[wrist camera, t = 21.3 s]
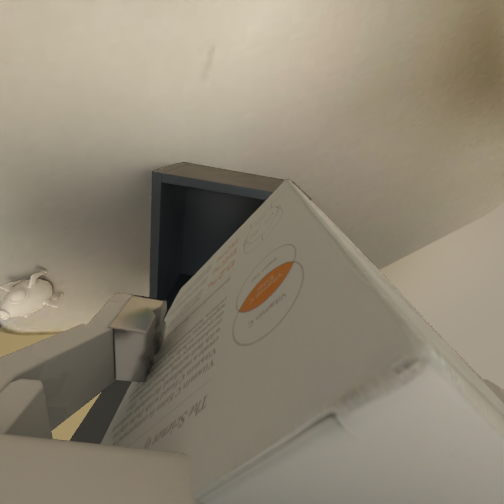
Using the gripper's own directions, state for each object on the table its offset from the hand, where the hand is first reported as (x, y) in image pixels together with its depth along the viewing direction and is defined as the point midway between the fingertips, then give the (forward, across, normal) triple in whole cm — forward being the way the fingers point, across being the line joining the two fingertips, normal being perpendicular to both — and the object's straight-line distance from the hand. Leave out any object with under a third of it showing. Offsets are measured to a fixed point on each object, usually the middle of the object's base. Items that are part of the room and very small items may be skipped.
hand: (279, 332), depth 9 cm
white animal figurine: (+26, +28, +19) cm, 43 cm away
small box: (+5, 0, 0) cm, 5 cm away
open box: (+26, +3, +6) cm, 27 cm away
